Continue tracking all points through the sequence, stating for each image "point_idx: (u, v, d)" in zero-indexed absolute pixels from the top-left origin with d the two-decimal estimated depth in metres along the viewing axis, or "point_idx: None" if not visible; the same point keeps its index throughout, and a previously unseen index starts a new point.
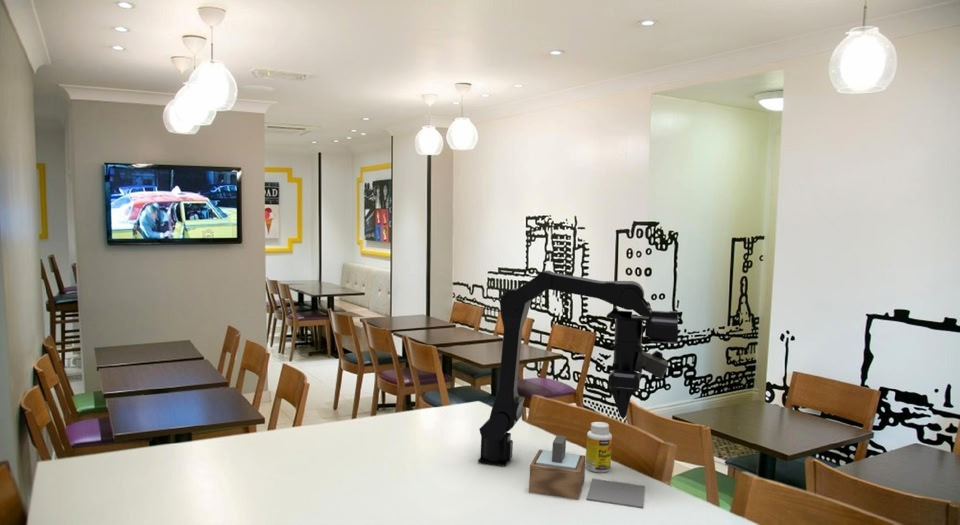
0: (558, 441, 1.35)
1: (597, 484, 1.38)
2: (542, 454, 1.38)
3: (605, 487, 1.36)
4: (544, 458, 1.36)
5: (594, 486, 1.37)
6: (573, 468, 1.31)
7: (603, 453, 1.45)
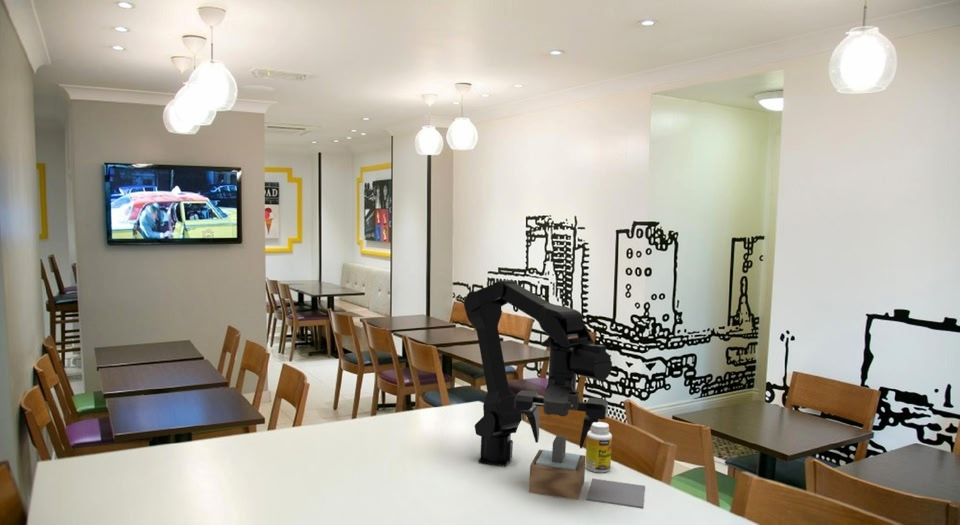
0: (558, 441, 1.35)
1: (597, 484, 1.38)
2: (542, 454, 1.38)
3: (605, 487, 1.36)
4: (544, 458, 1.36)
5: (594, 486, 1.37)
6: (573, 468, 1.31)
7: (603, 453, 1.45)
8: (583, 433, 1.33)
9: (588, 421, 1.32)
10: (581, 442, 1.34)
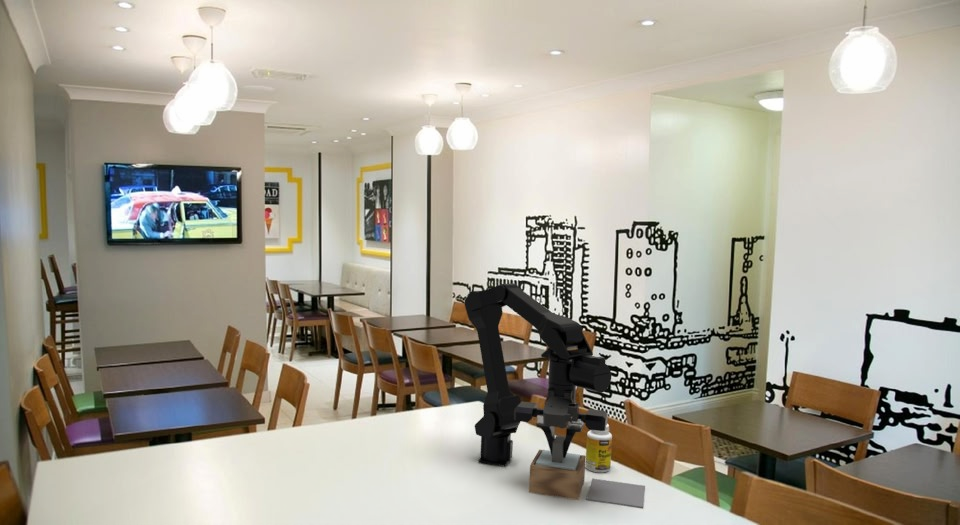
0: (558, 441, 1.35)
1: (597, 484, 1.38)
2: (542, 454, 1.38)
3: (605, 487, 1.36)
4: (544, 458, 1.36)
5: (594, 486, 1.37)
6: (573, 468, 1.31)
7: (603, 453, 1.45)
8: (566, 442, 1.34)
9: (571, 431, 1.33)
10: (564, 451, 1.35)
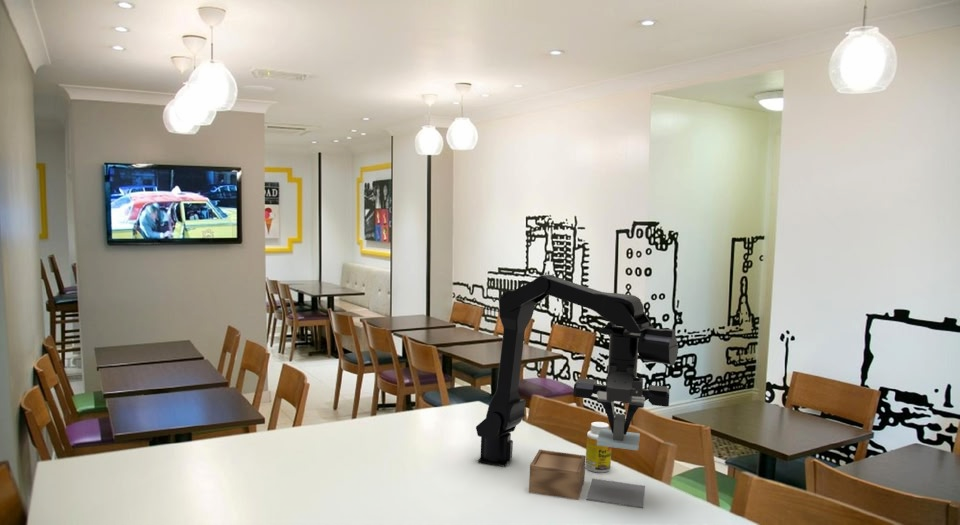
0: (619, 419, 1.32)
1: (597, 484, 1.38)
2: (601, 433, 1.35)
3: (605, 487, 1.36)
4: (604, 436, 1.33)
5: (594, 486, 1.37)
6: (636, 446, 1.29)
7: (603, 453, 1.45)
8: (627, 419, 1.32)
9: (633, 406, 1.30)
10: (626, 428, 1.32)
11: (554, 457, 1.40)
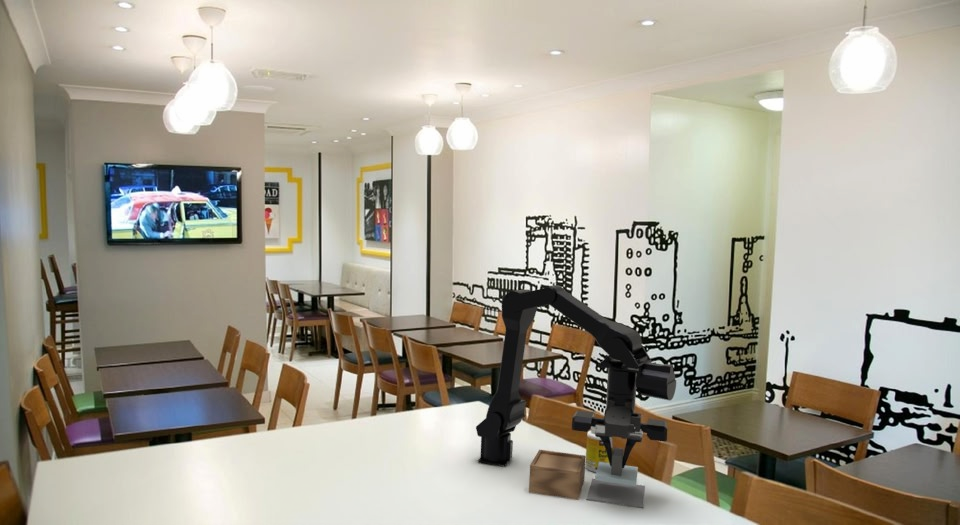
0: (617, 454, 1.32)
1: (597, 484, 1.38)
2: (599, 466, 1.36)
3: (605, 487, 1.36)
4: (602, 471, 1.33)
5: (594, 486, 1.37)
6: (634, 481, 1.29)
7: (603, 453, 1.45)
8: (626, 453, 1.32)
9: (631, 441, 1.30)
10: (624, 462, 1.33)
11: (554, 457, 1.40)
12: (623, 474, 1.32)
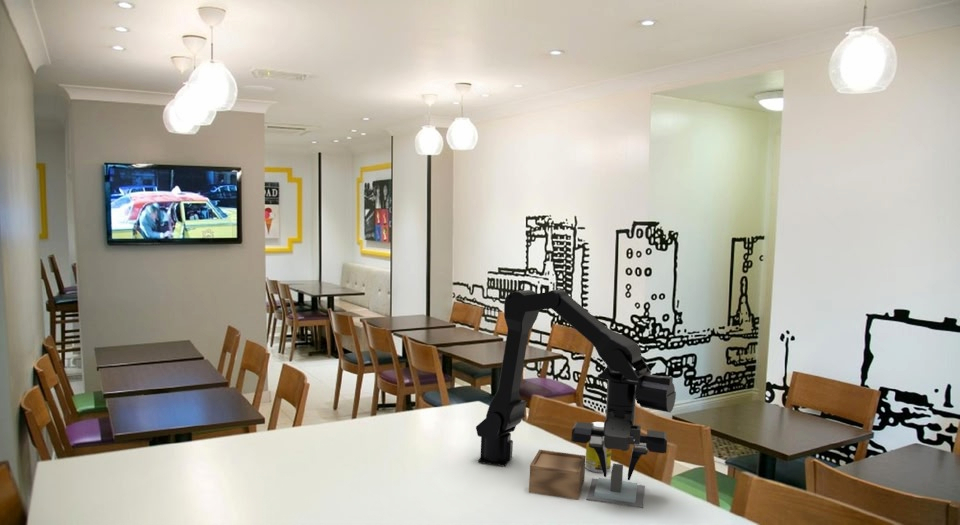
0: (616, 470, 1.32)
1: None
2: (599, 482, 1.36)
3: None
4: (602, 487, 1.34)
5: (594, 486, 1.37)
6: (633, 498, 1.29)
7: None
8: (631, 465, 1.32)
9: (637, 453, 1.30)
10: (629, 474, 1.33)
11: (554, 457, 1.40)
12: (622, 490, 1.32)
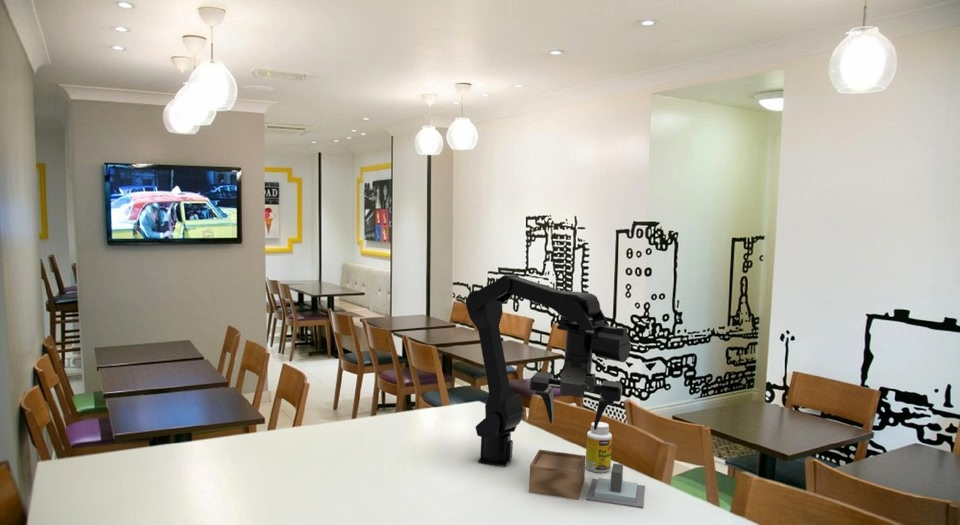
0: (616, 470, 1.32)
1: None
2: (599, 482, 1.36)
3: None
4: (602, 487, 1.34)
5: (594, 486, 1.37)
6: (633, 498, 1.29)
7: (603, 453, 1.45)
8: (597, 415, 1.36)
9: (603, 403, 1.34)
10: (595, 424, 1.36)
11: (554, 457, 1.40)
12: (622, 490, 1.32)
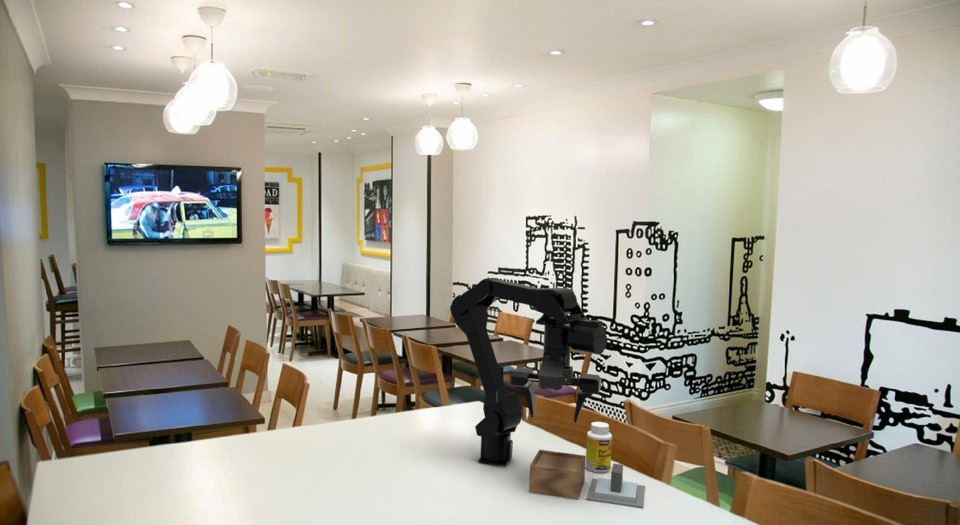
0: (616, 470, 1.32)
1: None
2: (599, 482, 1.36)
3: None
4: (602, 487, 1.34)
5: (594, 486, 1.37)
6: (633, 498, 1.29)
7: (603, 453, 1.45)
8: (577, 407, 1.38)
9: (582, 395, 1.36)
10: (576, 416, 1.38)
11: (554, 457, 1.40)
12: (622, 490, 1.32)
